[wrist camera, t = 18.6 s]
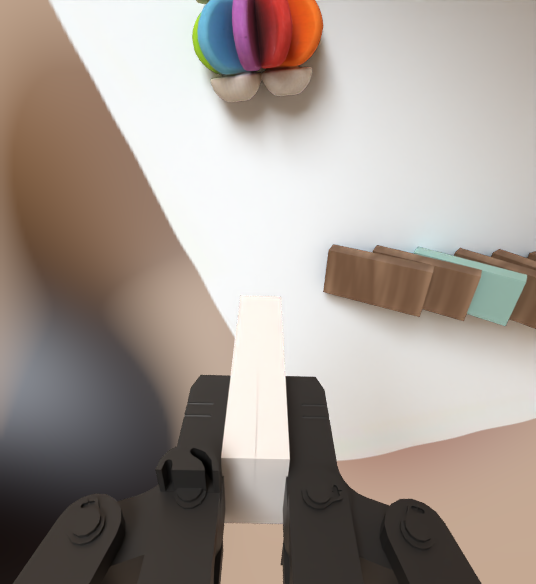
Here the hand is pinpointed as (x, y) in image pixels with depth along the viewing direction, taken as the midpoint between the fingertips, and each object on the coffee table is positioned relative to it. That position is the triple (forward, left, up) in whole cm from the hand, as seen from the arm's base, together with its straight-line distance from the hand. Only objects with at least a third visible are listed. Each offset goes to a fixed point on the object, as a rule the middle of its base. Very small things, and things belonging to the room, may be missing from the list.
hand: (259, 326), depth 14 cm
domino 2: (+10, +12, -24) cm, 28 cm away
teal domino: (+10, +16, -24) cm, 30 cm away
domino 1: (+10, +7, -24) cm, 27 cm away
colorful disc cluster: (-10, -1, -25) cm, 27 cm away
